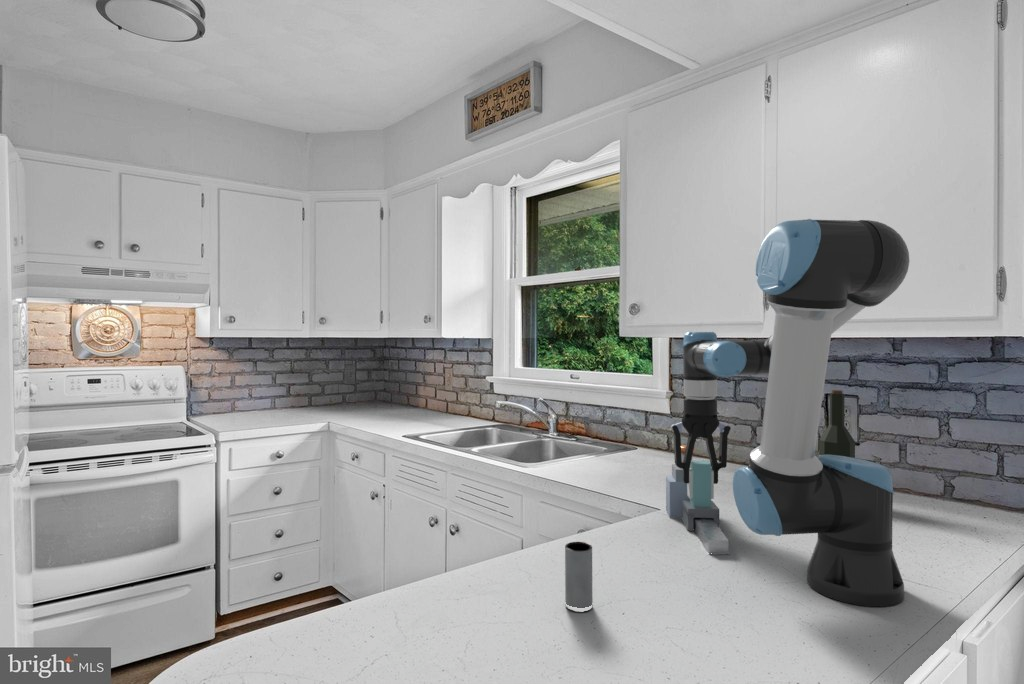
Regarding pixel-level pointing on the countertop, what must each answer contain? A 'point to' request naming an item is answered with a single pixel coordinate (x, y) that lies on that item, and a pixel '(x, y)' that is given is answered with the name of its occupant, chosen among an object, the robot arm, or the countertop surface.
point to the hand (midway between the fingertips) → (700, 496)
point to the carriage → (700, 496)
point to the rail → (710, 536)
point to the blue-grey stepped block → (675, 492)
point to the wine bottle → (837, 430)
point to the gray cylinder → (578, 574)
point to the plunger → (683, 449)
